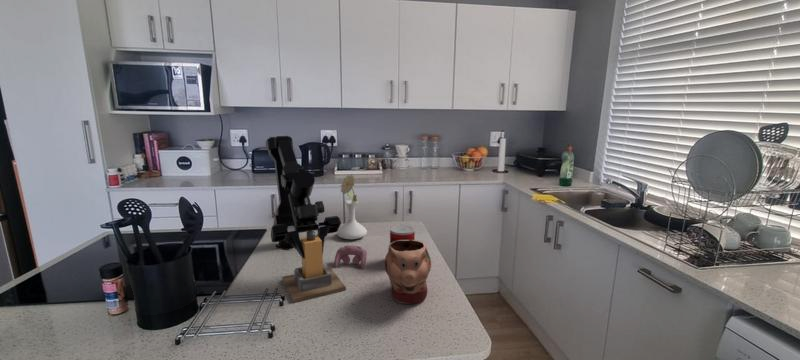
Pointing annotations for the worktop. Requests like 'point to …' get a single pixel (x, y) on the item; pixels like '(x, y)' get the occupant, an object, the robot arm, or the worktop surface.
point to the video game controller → (350, 250)
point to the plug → (312, 256)
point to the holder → (312, 285)
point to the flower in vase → (351, 212)
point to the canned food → (402, 233)
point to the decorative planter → (408, 270)
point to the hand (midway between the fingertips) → (313, 256)
